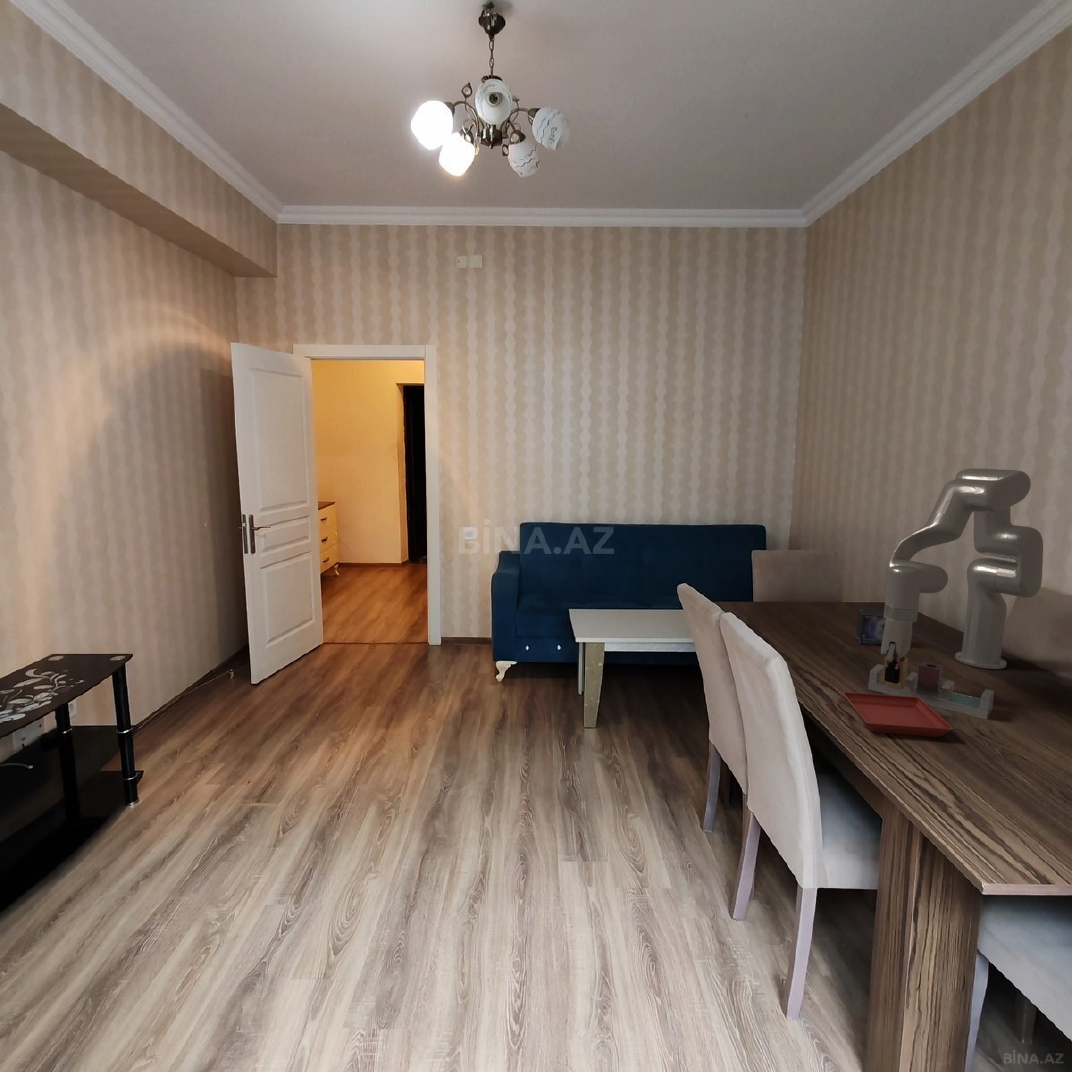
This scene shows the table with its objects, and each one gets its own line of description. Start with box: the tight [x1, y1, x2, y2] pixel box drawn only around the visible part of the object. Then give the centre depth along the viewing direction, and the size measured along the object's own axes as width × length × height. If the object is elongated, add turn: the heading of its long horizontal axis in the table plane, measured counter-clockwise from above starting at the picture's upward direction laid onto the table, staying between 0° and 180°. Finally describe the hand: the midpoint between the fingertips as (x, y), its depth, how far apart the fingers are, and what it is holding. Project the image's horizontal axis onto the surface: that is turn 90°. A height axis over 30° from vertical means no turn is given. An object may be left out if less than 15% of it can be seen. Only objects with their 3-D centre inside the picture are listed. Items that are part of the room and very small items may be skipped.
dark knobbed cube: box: [916, 660, 944, 696], centre depth 158 cm, size 4×4×7 cm
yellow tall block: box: [882, 655, 909, 688], centre depth 163 cm, size 4×4×7 cm
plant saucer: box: [842, 691, 954, 738], centre depth 146 cm, size 18×18×3 cm
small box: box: [854, 608, 887, 647], centre depth 201 cm, size 11×6×10 cm, turn 76°
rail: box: [867, 663, 995, 720], centre depth 158 cm, size 8×26×5 cm, turn 46°
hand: (894, 678), depth 164 cm, fingers open, 4 cm apart
